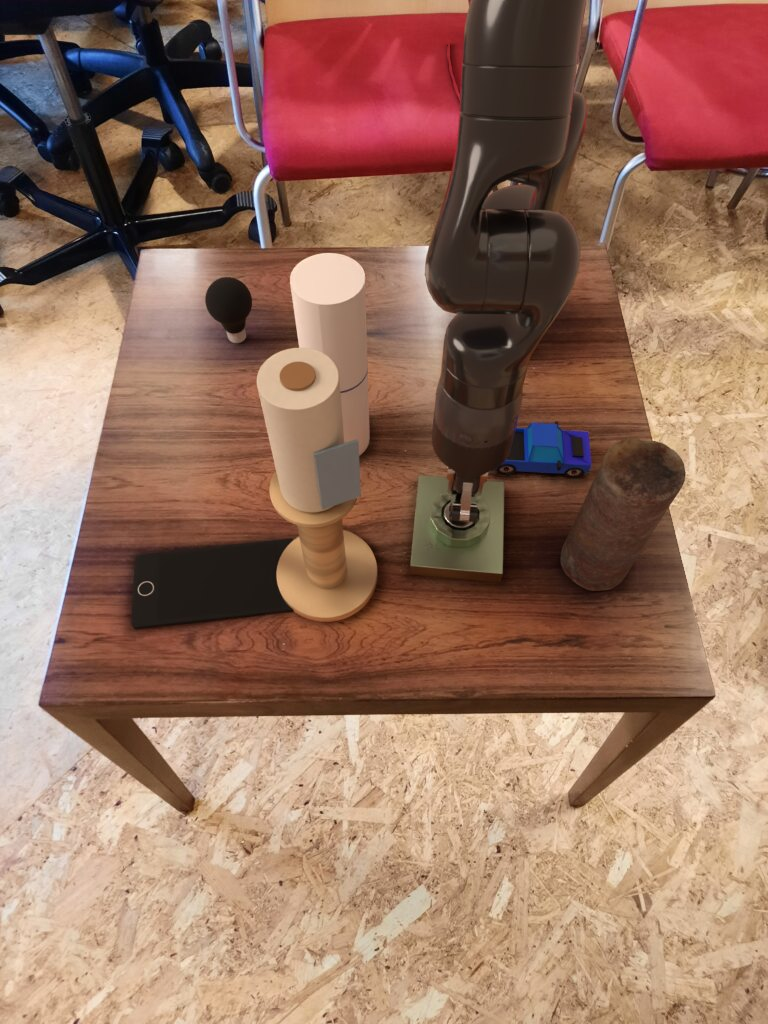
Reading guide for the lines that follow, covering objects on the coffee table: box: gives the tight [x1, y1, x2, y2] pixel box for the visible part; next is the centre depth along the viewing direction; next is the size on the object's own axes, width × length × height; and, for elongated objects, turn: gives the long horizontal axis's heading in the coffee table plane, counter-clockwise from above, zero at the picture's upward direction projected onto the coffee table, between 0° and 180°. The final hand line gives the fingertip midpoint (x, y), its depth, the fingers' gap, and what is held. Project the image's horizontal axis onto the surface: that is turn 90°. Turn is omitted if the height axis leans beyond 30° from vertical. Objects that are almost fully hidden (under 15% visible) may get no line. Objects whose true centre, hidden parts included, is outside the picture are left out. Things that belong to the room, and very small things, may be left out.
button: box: [443, 503, 475, 531], centre depth 81 cm, size 4×4×2 cm
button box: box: [409, 474, 505, 584], centre depth 82 cm, size 12×10×4 cm
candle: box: [560, 436, 687, 592], centre depth 73 cm, size 8×7×20 cm
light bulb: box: [204, 276, 253, 344], centre depth 95 cm, size 6×6×10 cm
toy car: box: [493, 421, 592, 480], centre depth 87 cm, size 7×12×5 cm, turn 86°
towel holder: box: [268, 470, 378, 623], centre depth 73 cm, size 11×11×18 cm
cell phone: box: [130, 538, 296, 630], centre depth 81 cm, size 9×18×1 cm, turn 97°
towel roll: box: [256, 347, 362, 512], centre depth 59 cm, size 6×6×14 cm
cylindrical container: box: [289, 252, 371, 457], centre depth 80 cm, size 7×7×25 cm
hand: (459, 513), depth 80 cm, fingers closed
